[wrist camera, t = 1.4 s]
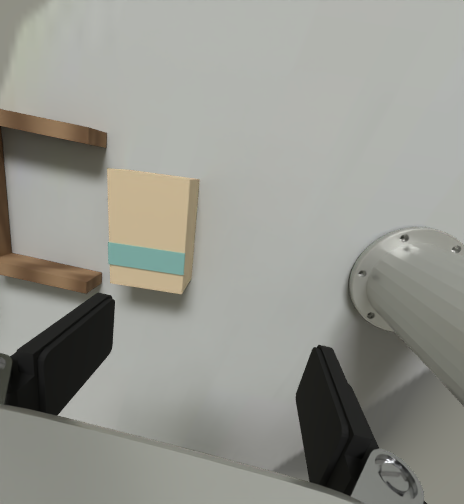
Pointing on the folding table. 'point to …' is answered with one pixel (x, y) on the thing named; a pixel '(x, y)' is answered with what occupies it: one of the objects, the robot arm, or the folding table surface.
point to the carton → (151, 229)
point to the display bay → (3, 258)
